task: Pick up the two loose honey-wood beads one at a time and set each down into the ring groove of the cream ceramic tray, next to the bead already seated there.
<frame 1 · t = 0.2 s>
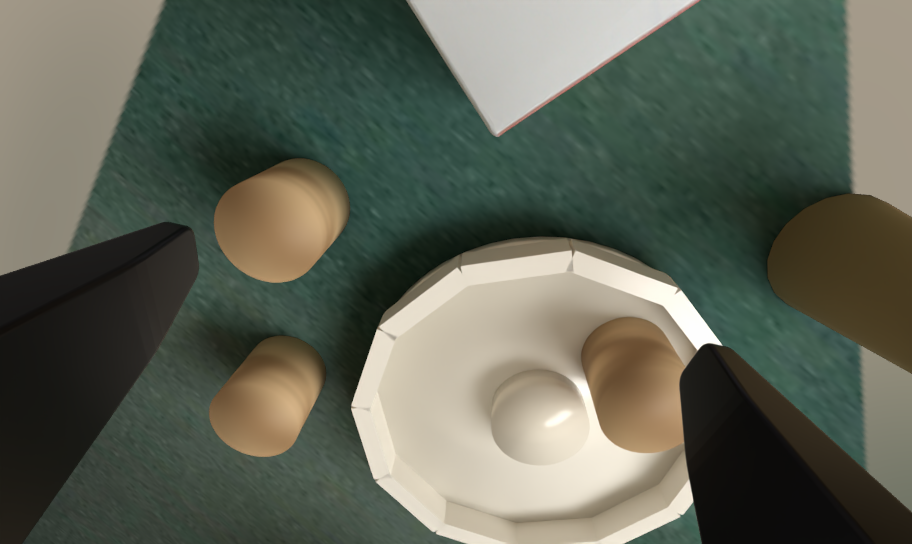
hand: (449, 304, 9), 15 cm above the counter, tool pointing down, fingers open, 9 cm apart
bead c: (625, 355, 25), point 1 cm above the counter, touching tray
cork: (832, 254, 24), on the counter
bead b: (305, 203, 24), on the counter
bead a: (288, 368, 28), on the counter
tray: (535, 396, 28), on the counter
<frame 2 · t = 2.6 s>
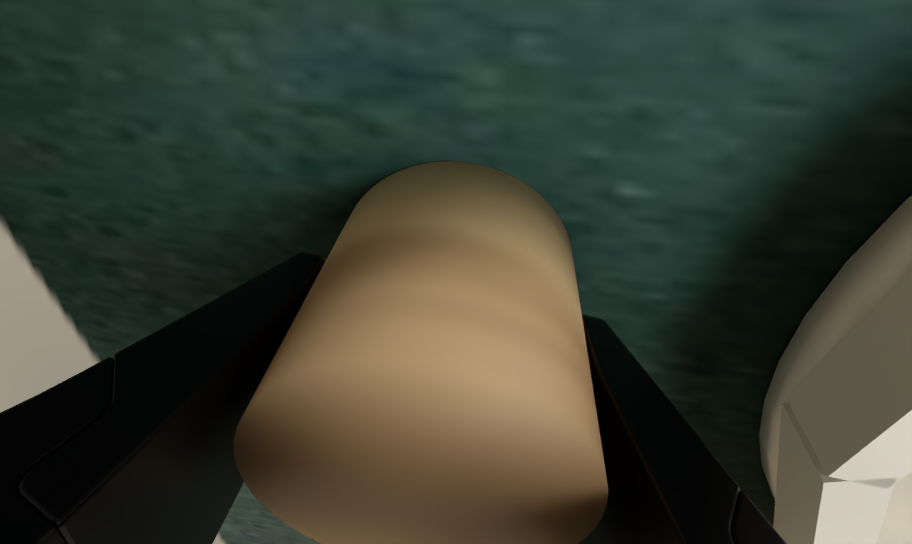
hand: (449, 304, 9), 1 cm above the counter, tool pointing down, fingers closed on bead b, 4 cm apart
bead b: (455, 268, 9), on the counter, touching gripper
when the fingers open (3 cm above the counter, at t = 6.4 s): bead b drops 1 cm, resting on tray.
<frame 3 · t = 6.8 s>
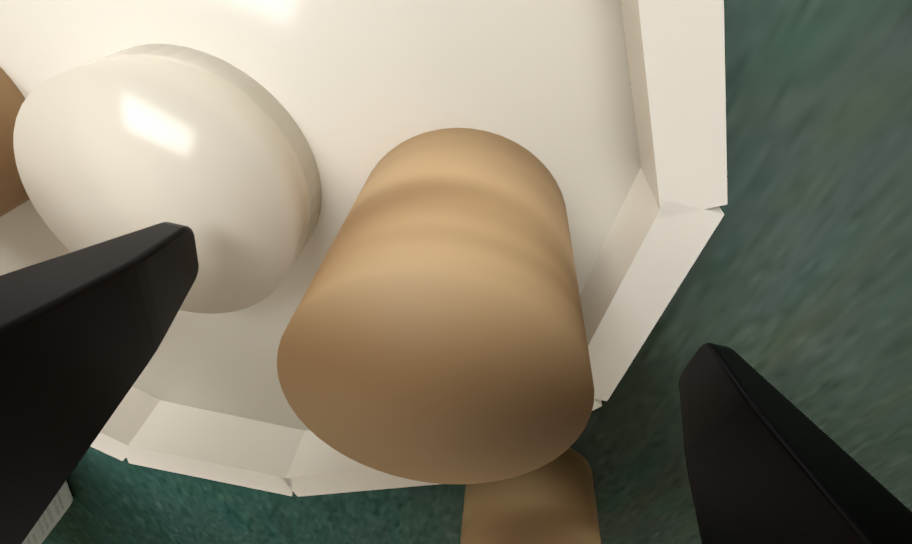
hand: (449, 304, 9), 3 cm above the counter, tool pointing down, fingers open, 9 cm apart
bead b: (461, 228, 10), point 1 cm above the counter, touching tray
bead a: (528, 473, 18), on the counter
tray: (226, 153, 11), on the counter
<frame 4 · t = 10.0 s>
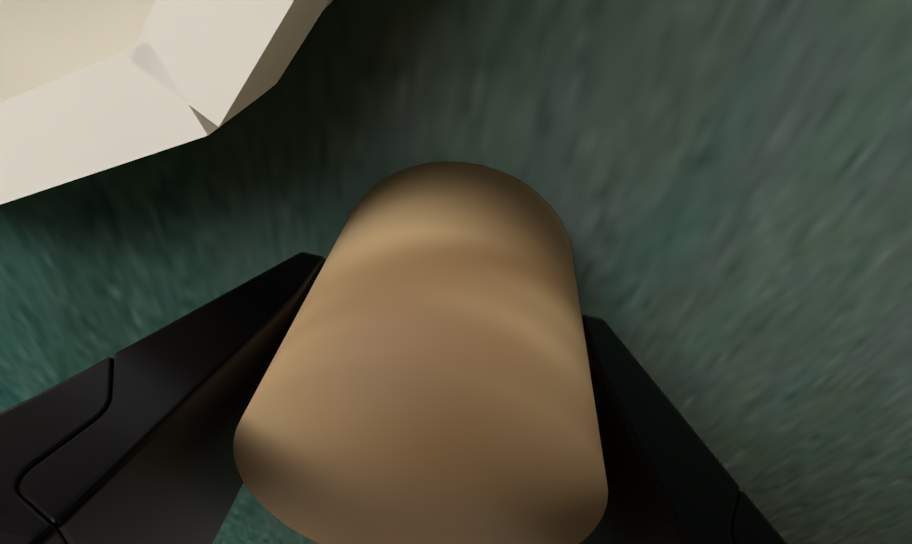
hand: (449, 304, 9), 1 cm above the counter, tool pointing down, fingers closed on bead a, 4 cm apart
bead a: (455, 268, 9), on the counter, touching gripper
when the fingers open (3 cm above the counter, at t = 13.3 s): bead a drops 1 cm, resting on tray.
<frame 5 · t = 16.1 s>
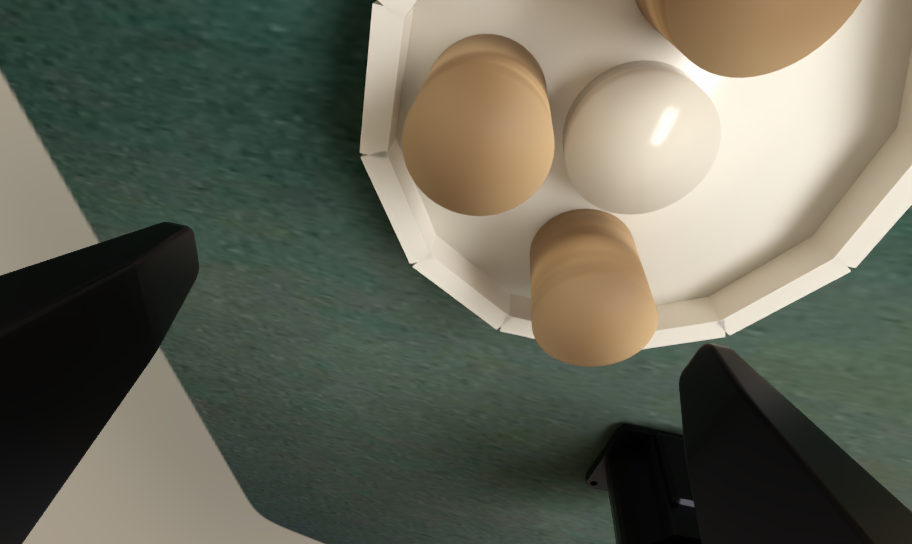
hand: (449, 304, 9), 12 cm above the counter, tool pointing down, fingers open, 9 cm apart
bead b: (581, 253, 21), point 1 cm above the counter, touching tray
bead a: (485, 100, 18), point 1 cm above the counter, touching tray
tray: (627, 123, 19), on the counter
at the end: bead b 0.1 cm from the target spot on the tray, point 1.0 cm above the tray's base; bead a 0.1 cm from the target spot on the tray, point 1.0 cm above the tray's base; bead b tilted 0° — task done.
